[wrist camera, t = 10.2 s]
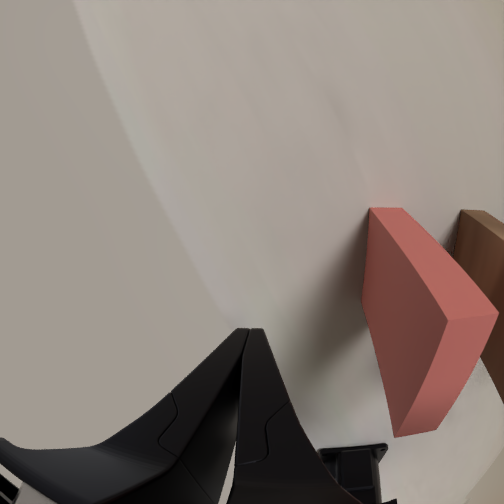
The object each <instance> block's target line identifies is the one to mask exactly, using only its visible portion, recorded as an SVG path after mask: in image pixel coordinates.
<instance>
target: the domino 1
mask: <svg viewBox="0 0 504 504" xmlns="http://www.w3.org/2000/svg"><path fill="white" fill-rule="evenodd" d="M361 303H362V307H363V310H364V313H365V317H366V320H367V324H368V327H369V331H370V334H371V338H372V341H373V345H374V349H375V353H376V357H377V361H378V365H379V369H380V373H381V377H382V381H383V385H384V390H385V394H386V399H387V403H388V408H389V413H390V418H391V423H392V428H393V434H394V438H396V437H402V436H408V435H413V434H419V433H423V432H428V431H433V430H436V429H437V428H438V426H439V425H440V423H441V422H442V421H443V419H444V418H445V416H446V415H447V413H448V412H449V410H450V408H451V407H452V405H453V404H454V402H455V401H456V399H457V397H458V396H459V394H460V392H461V391H462V389H463V387H464V385H465V384H466V382H467V380H468V378H469V377H470V375H471V373H472V371H473V369H474V367H475V365H476V363H477V361H478V359H479V357H480V355H481V353H482V351H483V349H484V347H485V345H486V343H487V341H488V338H489V336H490V334H491V332H492V329H493V327H494V324H495V322H496V320H497V317H498V315H499V312H498V311H497V309H496V308H495V307H494V306H493V304H492V303H491V302H490V301H489V299H488V298H487V297H486V296H485V294H484V293H483V292H482V291H481V290H480V288H479V287H478V286H477V285H476V284H475V282H474V281H473V280H472V279H471V278H470V277H469V276H468V274H467V273H466V272H465V271H464V270H463V269H462V268H461V267H460V265H459V264H458V263H457V262H456V261H455V260H454V259H453V258H452V257H451V256H450V255H449V254H448V252H447V251H446V250H445V249H444V248H443V247H442V246H441V245H440V244H439V243H438V242H437V241H436V240H435V239H434V238H433V237H432V236H431V235H430V234H429V233H428V232H427V231H426V230H425V229H424V228H423V227H422V226H421V225H420V224H419V223H418V222H417V221H415V220H414V219H413V218H412V217H411V216H410V215H409V214H408V213H407V212H406V211H405V210H404V209H403V208H369V226H368V241H367V253H366V264H365V273H364V282H363V291H362V299H361Z"/></svg>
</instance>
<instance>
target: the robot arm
mask: <svg viewBox="0 0 504 504" xmlns="http://www.w3.org/2000/svg"><path fill="white" fill-rule="evenodd" d="M235 442H236V450H235V464H234V466H235V468H234V478H233V483H232V488H231V491H230V494H229V497H228V500H227V503H226V504H397V499H393V500H391V501H388V502H384V503H382V499H381V486H380V476H379V466H378V464H379V462H380V461H381V459H382V458H383V456H384V455H385V453H386V451H387V450H388V445H387V444H380V445H373V446H364V447H353V448H340V449H323V450H320V451H319V453H318V454H317V452H316V451H315V449H314V447H313V446H312V444H311V442H310V441H309V439H308V437H307V436H306V434H305V432H304V430H303V428H302V426H301V425H300V422H299V420H298V418H297V415H296V413H295V411H294V408H293V406H292V403H291V401H290V398H289V396H288V393H287V390H286V388H285V385H284V382H283V380H282V377H281V374H280V372H279V369H278V367H277V364H276V361H275V359H274V356H273V353H272V351H271V348H270V345H269V342H268V340H267V337H266V334H265V332H264V330H263V329H262V328H252V329H249V328H237V329H235V330H234V331H233V332H232V333H231V334H230V335H229V336H228V337H227V339H225V340H224V341H223V342H222V343H221V344H220V345H219V346H218V347H217V348H216V349H215V350H214V351H213V352H212V353H211V354H210V355H209V356H208V357H207V358H206V359H205V360H204V361H202V362H201V363H200V364H199V365H198V366H197V367H196V368H195V369H194V370H193V371H192V372H191V373H190V374H189V375H188V376H187V377H186V378H184V379H183V380H182V381H181V382H180V383H179V384H178V385H177V386H176V387H175V388H174V389H173V390H172V391H171V393H168V394H167V395H166V396H165V397H164V398H163V399H162V400H161V401H159V402H158V403H157V404H156V405H155V406H153V407H152V408H151V409H150V410H149V411H147V412H146V413H145V414H143V415H142V416H141V417H139V418H138V419H137V420H135V421H134V422H132V423H131V424H129V425H128V426H126V427H125V428H123V429H122V430H120V431H119V432H118V433H116V434H115V435H113V436H112V437H110V438H109V439H107V440H105V441H103V442H102V443H100V444H97V445H94V446H90V447H83V448H71V449H70V448H69V449H46V450H45V449H44V450H32V449H24V448H20V447H17V446H15V445H13V444H11V443H10V442H9V441H7V440H6V439H4V438H0V464H1V465H3V466H4V467H5V468H6V469H8V470H9V471H10V472H11V473H12V474H14V475H15V476H16V477H18V478H19V479H20V480H22V481H23V483H22V485H21V487H20V488H18V487H16V486H15V485H14V484H12V483H11V482H10V481H9V480H7V479H6V478H5V477H4V476H2V475H1V474H0V504H218V502H219V499H220V496H221V492H222V488H223V485H224V481H225V478H226V475H227V471H228V467H229V464H230V460H231V456H232V453H233V449H234V446H235Z"/></svg>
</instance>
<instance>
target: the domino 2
mask: <svg viewBox="0 0 504 504" xmlns="http://www.w3.org/2000/svg"><path fill="white" fill-rule="evenodd" d="M453 259H454V260H455V261H456V262H457V263H458V264H459V265H460V267H461V268H462V269H463V270H464V271H465V272H466V273H467V274H468V276H469V277H470V278H471V279H472V280H473V281H474V282H475V284H476V285H477V286H478V287H479V288H480V290H481V291H482V292H483V293H484V294H485V296H486V297H487V298H488V299H489V301H490V302H491V303H492V304H493V306H494V307H495V308H496V309H497V311H498V312H499V315H498V317H497V320H496V322H495V324H494V327H493V329H492V332H491V334H490V336H489V338H488V341H487V343H486V345H485V347H484V349H483V351H482V353H481V355H480V358H481V359H482V361H483V363H484V365H485V367H486V369H487V371H488V373H489V375H490V376H491V378H492V380H493V382H494V384H495V387H496V389H497V391H498V393H499V395H500V397H501V399H502V401H503V404H504V224H503V223H502V222H500V221H499V220H497V219H496V218H494V217H493V216H491V215H490V214H488V213H487V212H485V211H480V210H461V214H460V221H459V227H458V233H457V239H456V245H455V250H454V255H453Z"/></svg>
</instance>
